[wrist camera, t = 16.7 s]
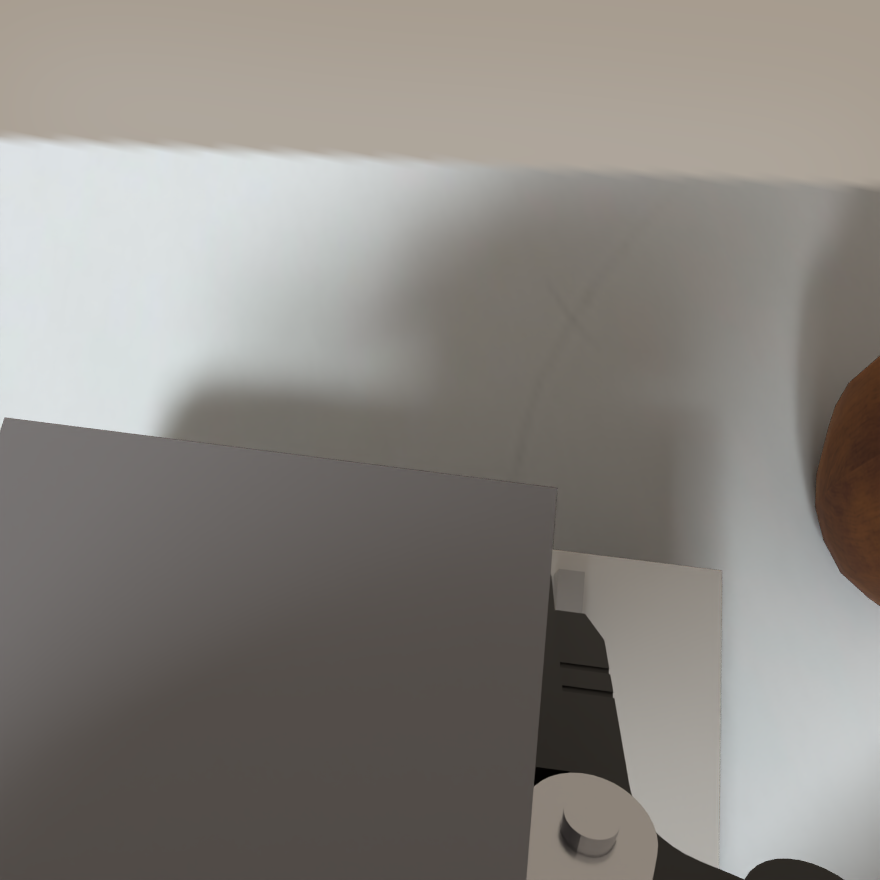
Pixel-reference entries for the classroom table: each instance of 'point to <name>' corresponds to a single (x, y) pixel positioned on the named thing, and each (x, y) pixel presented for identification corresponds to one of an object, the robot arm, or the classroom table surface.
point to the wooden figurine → (853, 483)
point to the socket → (659, 682)
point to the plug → (263, 663)
